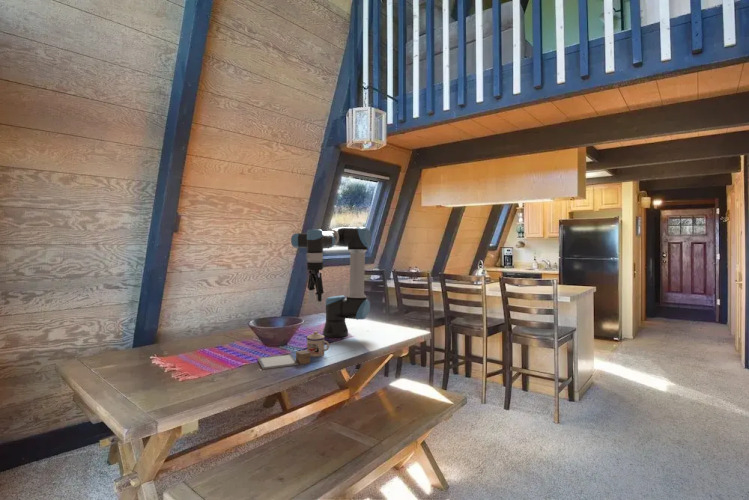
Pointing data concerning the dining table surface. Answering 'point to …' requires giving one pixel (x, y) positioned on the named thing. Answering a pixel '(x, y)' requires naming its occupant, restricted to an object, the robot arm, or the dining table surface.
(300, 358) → the walnut block
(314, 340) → the teacup with lid
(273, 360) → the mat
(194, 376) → the dining table surface
